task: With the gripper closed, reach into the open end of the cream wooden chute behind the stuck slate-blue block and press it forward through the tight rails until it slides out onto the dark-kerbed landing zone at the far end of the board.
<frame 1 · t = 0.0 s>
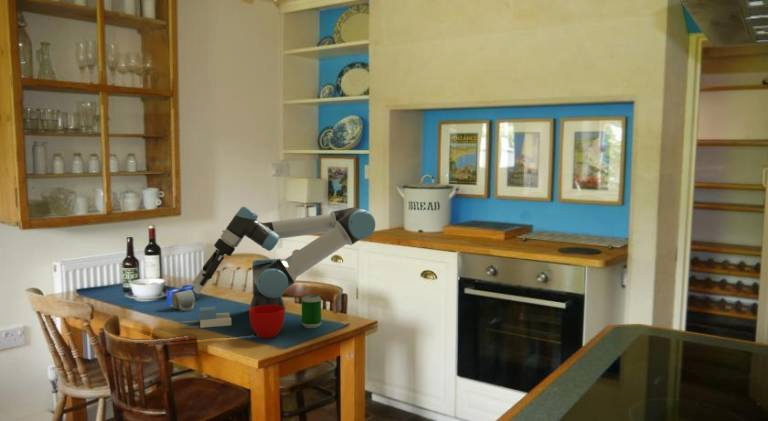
hand: (195, 288, 244), 15 cm above the table, tool tilted 35°, fingers open, 13 cm apart
ceramic mug: (185, 309, 275), on the table
ceramic cup: (264, 335, 235), on the table
soda can: (311, 326, 247), on the table
chute: (205, 326, 246), on the table
block: (207, 316, 246), point 4 cm above the table, slide at 0.0 cm
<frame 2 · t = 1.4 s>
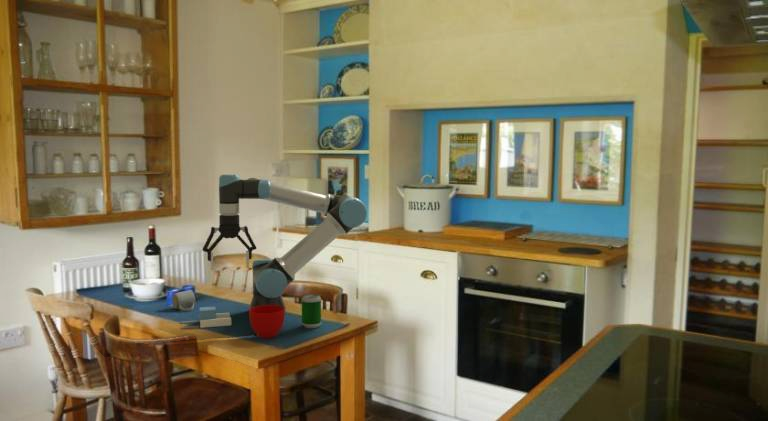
hand: (229, 268, 247), 22 cm above the table, tool pointing down, fingers open, 13 cm apart
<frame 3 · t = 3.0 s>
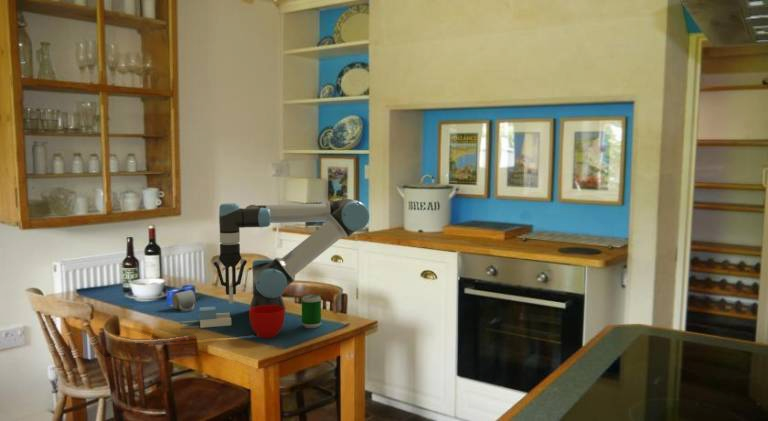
hand: (231, 302, 249), 9 cm above the table, tool pointing down, fingers closed
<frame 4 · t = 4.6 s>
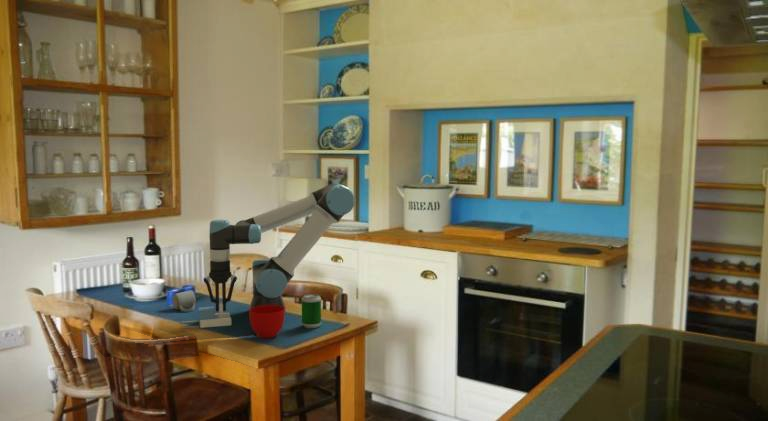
hand: (221, 319, 248), 2 cm above the table, tool pointing down, fingers closed
block: (207, 316, 246), point 4 cm above the table, slide at 0.3 cm
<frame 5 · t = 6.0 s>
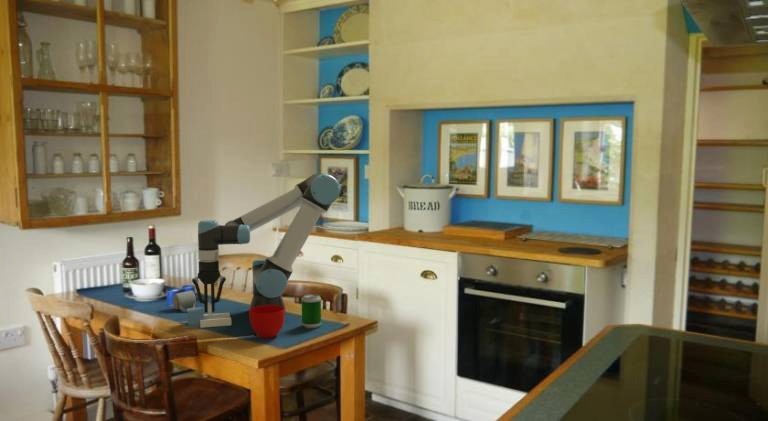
hand: (209, 320, 247), 2 cm above the table, tool pointing down, fingers closed
block: (195, 317, 245), point 4 cm above the table, slide at 4.6 cm, touching gripper
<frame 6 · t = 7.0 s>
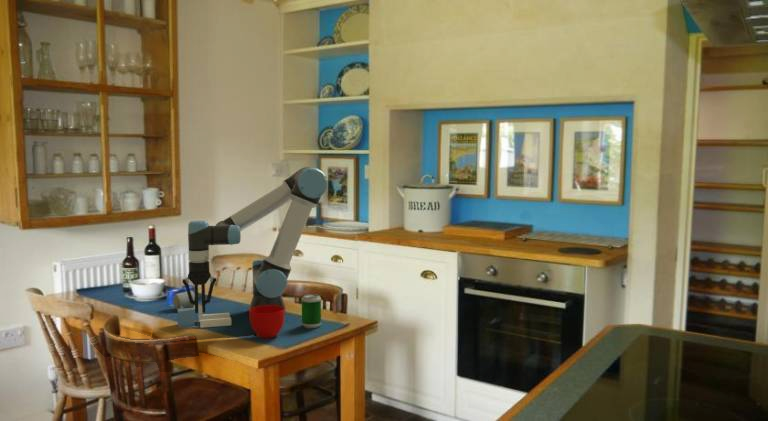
hand: (200, 320, 246), 2 cm above the table, tool pointing down, fingers closed
block: (186, 317, 244), point 4 cm above the table, slide at 8.1 cm, touching gripper
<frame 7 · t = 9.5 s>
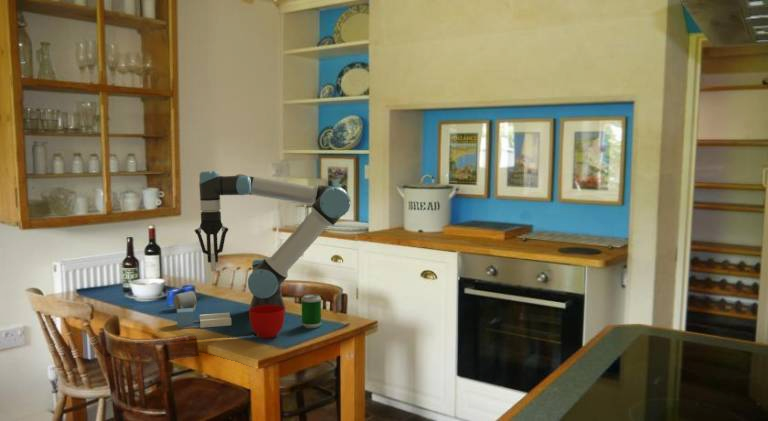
hand: (213, 270, 249), 21 cm above the table, tool pointing down, fingers closed
block: (185, 317, 244), point 4 cm above the table, slide at 8.4 cm
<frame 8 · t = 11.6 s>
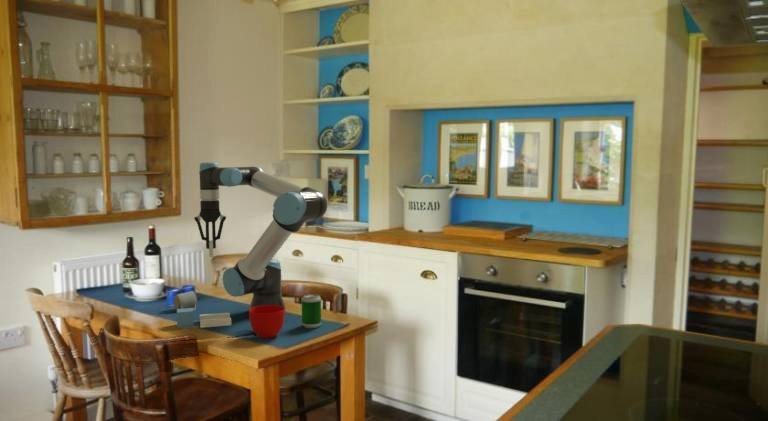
hand: (211, 256, 263), 24 cm above the table, tool pointing down, fingers closed
at the end: block slide at 8.4 cm; block inside the target area (0.6 cm from its centre), point 4.0 cm above the table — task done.
